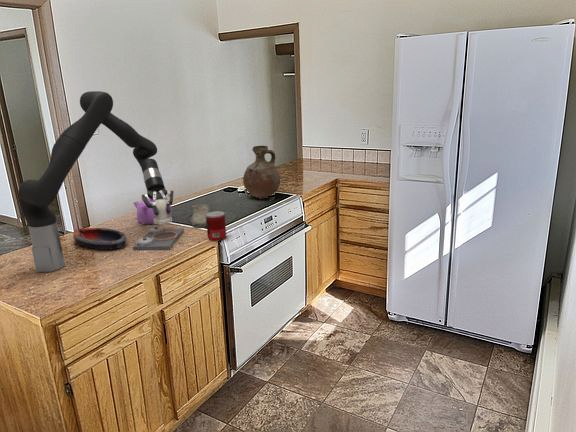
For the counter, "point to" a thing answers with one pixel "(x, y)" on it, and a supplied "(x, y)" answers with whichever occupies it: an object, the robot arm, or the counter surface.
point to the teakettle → (146, 212)
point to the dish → (100, 238)
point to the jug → (262, 174)
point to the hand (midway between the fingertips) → (163, 213)
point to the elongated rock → (199, 215)
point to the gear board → (158, 239)
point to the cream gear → (162, 213)
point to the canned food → (216, 225)
